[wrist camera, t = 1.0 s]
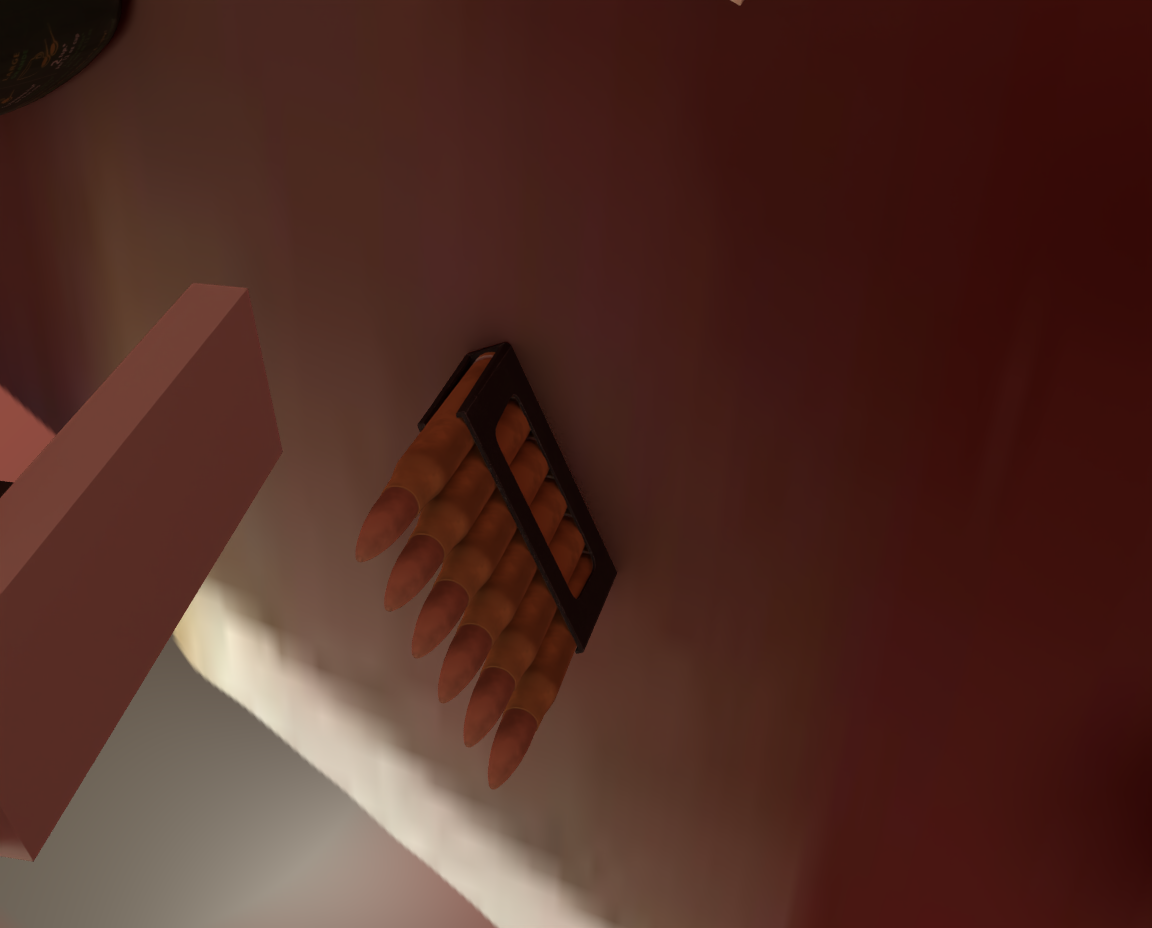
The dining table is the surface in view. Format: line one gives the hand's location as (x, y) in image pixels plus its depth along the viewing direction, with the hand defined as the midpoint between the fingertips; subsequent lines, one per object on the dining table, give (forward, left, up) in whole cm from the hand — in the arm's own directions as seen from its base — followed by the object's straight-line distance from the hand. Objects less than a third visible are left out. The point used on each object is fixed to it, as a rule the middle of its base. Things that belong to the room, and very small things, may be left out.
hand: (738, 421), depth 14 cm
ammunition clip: (+2, +17, -21) cm, 27 cm away
